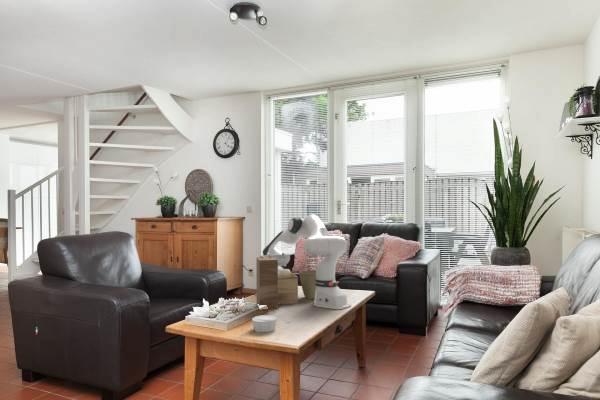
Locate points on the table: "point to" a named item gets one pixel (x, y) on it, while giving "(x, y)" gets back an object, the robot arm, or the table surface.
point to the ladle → (283, 272)
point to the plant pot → (308, 283)
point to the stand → (274, 284)
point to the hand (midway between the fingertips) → (276, 254)
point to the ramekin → (264, 323)
